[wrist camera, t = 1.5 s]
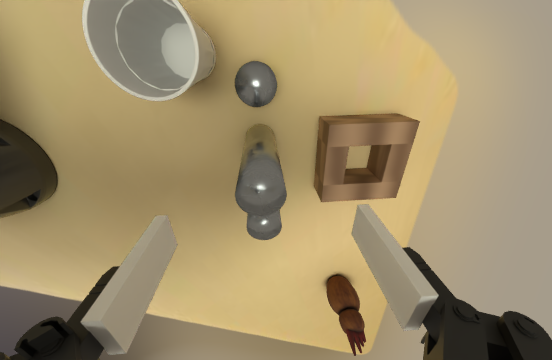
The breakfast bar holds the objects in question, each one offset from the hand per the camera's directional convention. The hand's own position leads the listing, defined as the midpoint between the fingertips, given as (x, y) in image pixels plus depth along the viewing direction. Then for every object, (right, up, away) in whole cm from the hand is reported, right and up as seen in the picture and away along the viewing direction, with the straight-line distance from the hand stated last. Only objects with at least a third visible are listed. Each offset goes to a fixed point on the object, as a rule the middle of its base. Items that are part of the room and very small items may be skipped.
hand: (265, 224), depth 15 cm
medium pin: (-1, +3, +21) cm, 21 cm away
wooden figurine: (+15, -21, +36) cm, 44 cm away
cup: (-10, +19, +11) cm, 24 cm away
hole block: (+13, +8, +19) cm, 25 cm away
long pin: (-2, +10, +17) cm, 20 cm away
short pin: (-2, +17, +13) cm, 21 cm away
